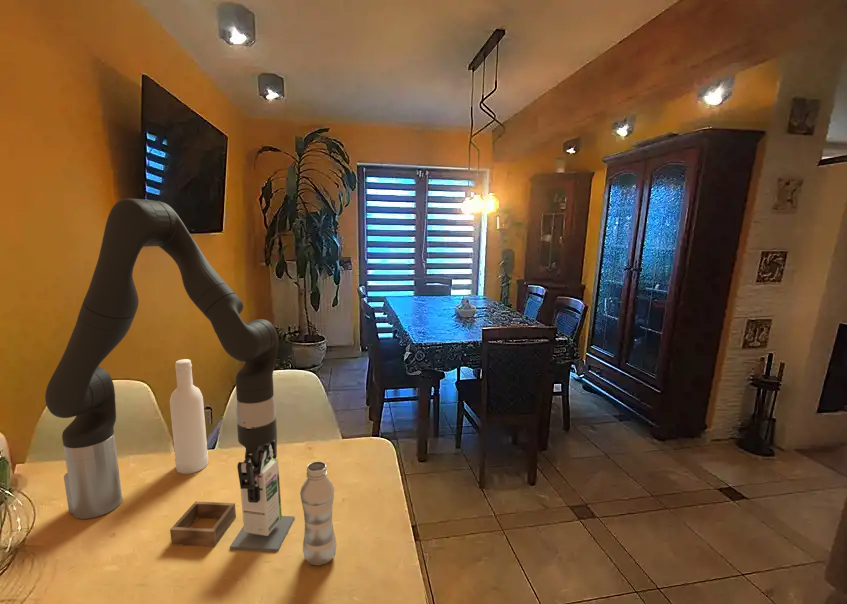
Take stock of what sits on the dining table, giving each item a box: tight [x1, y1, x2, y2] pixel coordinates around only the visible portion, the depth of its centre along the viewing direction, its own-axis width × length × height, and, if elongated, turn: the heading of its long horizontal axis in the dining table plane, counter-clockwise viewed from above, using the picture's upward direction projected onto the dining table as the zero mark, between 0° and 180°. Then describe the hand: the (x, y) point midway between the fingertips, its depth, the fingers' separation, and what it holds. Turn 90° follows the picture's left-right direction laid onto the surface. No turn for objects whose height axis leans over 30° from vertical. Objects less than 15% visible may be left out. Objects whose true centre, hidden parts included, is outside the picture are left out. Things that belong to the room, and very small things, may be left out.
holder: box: [169, 501, 237, 548], centre depth 94 cm, size 9×9×4 cm
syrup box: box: [240, 458, 283, 536], centre depth 92 cm, size 6×6×14 cm
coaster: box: [229, 515, 296, 553], centre depth 94 cm, size 10×10×1 cm
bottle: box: [169, 358, 209, 475], centre depth 116 cm, size 8×8×30 cm
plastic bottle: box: [299, 460, 337, 566], centre depth 86 cm, size 6×7×20 cm
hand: (260, 491), depth 92 cm, fingers closed on syrup box, 6 cm apart
